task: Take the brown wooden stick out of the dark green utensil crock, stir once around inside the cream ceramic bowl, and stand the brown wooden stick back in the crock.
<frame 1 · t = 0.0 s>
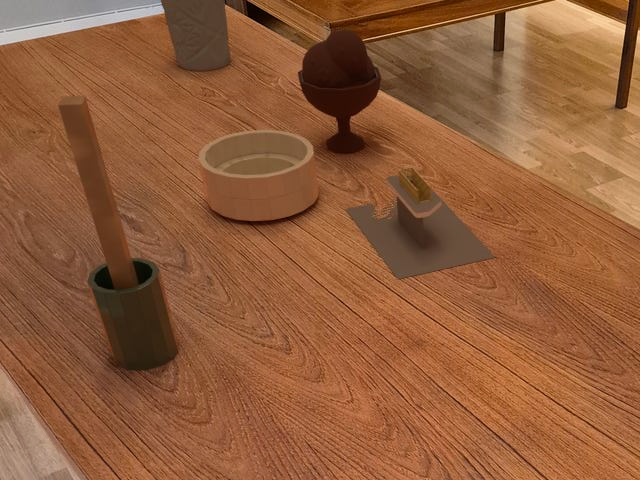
brown wooden stick: (146, 350, 87), point 1 cm above the table, touching crock
crock: (147, 355, 87), on the table
platform: (417, 233, 106), on the table
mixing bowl: (264, 199, 111), on the table
ice cream bowl: (345, 146, 123), on the table
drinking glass: (205, 62, 146), on the table
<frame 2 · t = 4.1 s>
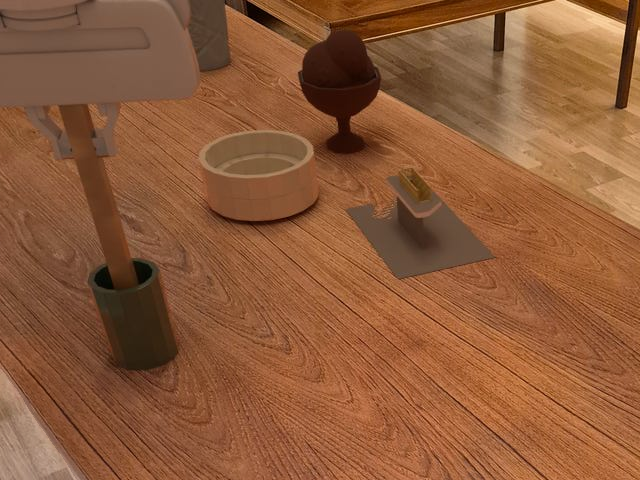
hand: (87, 155, 73), 20 cm above the table, tool pointing down, fingers closed on brown wooden stick, 2 cm apart
brown wooden stick: (146, 350, 87), point 1 cm above the table, touching crock, gripper
everything else where it was.
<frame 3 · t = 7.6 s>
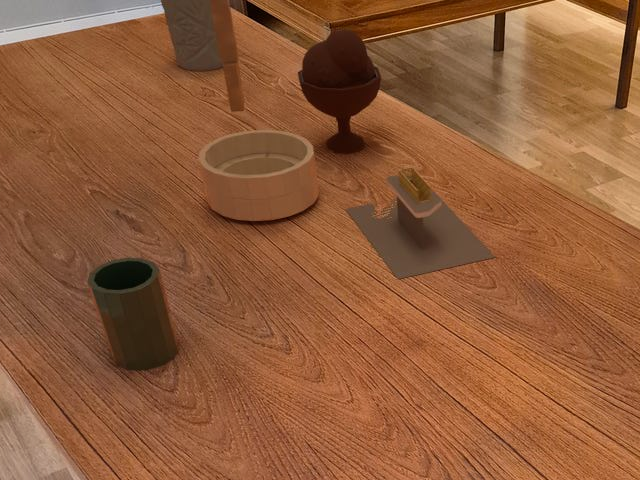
brown wooden stick: (238, 106, 100), point 13 cm above the table, touching gripper
everything else where it was.
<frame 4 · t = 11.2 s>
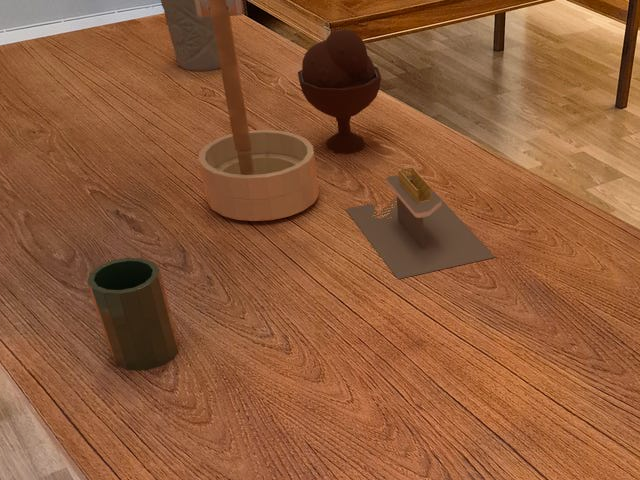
hand: (220, 14, 95), 22 cm above the table, tool pointing down, fingers closed on brown wooden stick, 2 cm apart
brown wooden stick: (250, 187, 109), point 2 cm above the table, touching gripper
everything else where it was.
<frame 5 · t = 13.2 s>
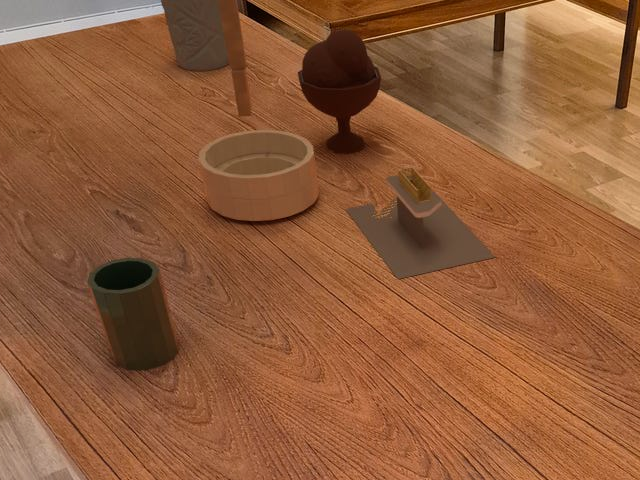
brown wooden stick: (245, 111, 103), point 11 cm above the table, touching gripper
everything else where it was.
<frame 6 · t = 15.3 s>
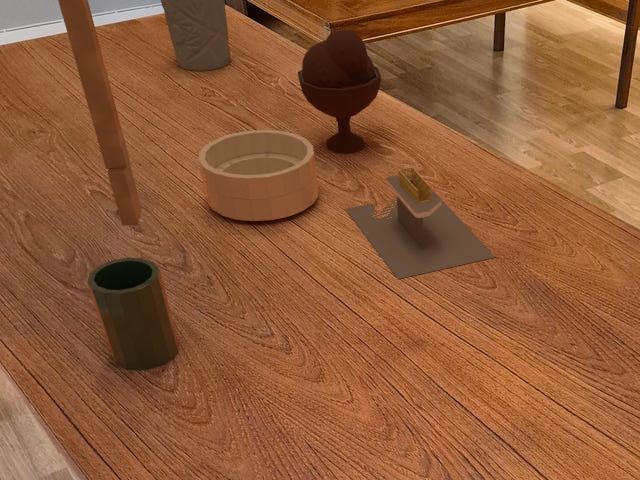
brown wooden stick: (132, 217, 81), point 13 cm above the table, touching gripper
everything else where it was.
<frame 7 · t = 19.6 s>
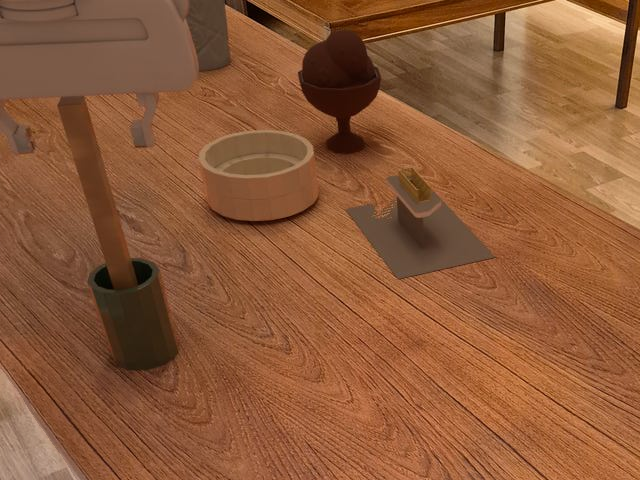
hand: (85, 148, 73), 21 cm above the table, tool pointing down, fingers open, 8 cm apart
brown wooden stick: (145, 351, 87), point 1 cm above the table, touching crock
everything else where it was.
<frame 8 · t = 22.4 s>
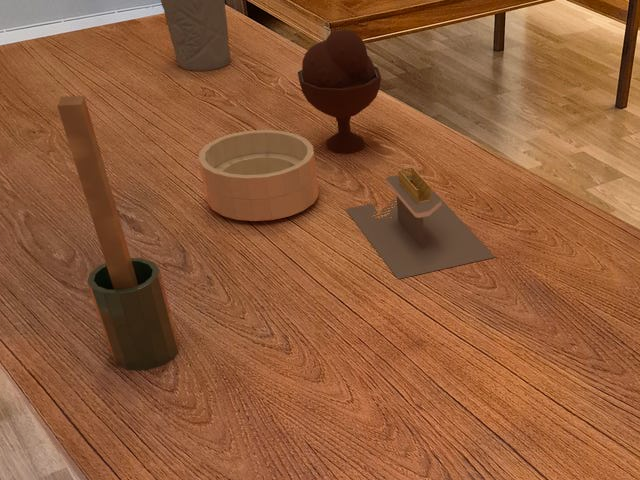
nothing on the table moved.
at the end: brown wooden stick 0.1 cm off-centre in the crock, point 0.6 cm above the crock's base; the gripper is holding nothing; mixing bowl moved 0.0 cm from its start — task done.
